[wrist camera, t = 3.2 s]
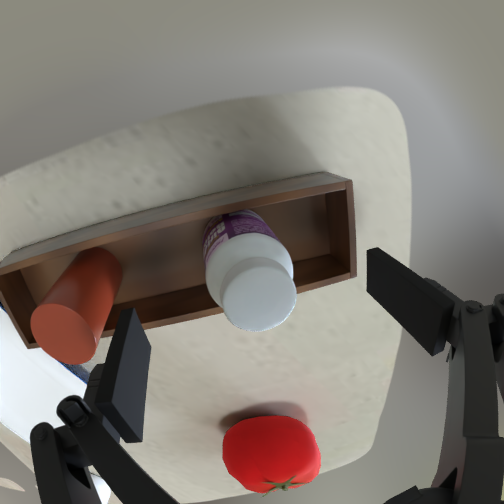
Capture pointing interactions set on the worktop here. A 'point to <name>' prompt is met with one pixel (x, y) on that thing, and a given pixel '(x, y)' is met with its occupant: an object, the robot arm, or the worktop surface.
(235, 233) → the pill bottle
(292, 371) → the worktop surface
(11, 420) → the plate
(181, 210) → the wooden tray
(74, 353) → the spice tin
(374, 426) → the worktop surface
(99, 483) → the vodka
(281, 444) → the tomato
